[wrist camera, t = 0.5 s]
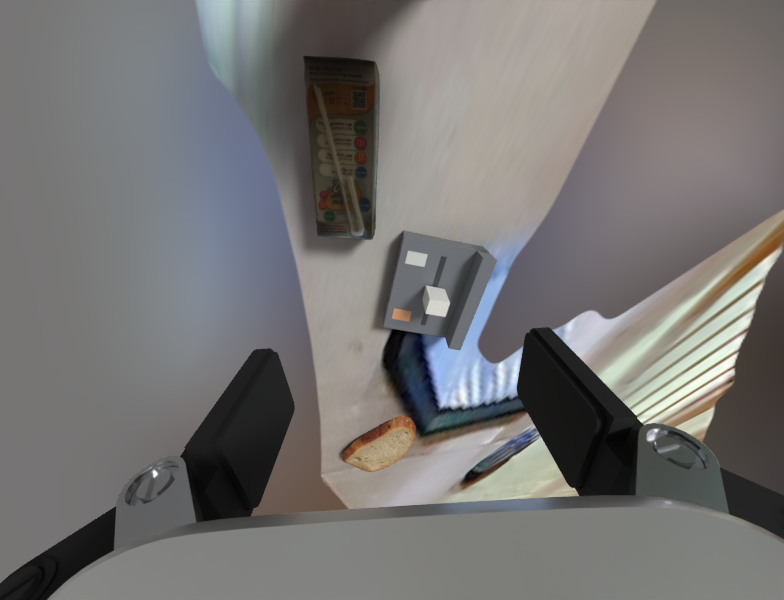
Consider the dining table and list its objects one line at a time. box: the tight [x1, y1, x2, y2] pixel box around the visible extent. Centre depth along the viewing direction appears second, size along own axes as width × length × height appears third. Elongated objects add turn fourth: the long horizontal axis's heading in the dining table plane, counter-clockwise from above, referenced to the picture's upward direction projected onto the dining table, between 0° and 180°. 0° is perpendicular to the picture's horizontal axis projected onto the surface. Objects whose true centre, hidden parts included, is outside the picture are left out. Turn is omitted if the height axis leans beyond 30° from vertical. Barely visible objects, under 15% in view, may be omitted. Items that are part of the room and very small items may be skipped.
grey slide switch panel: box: [383, 231, 497, 350], centre depth 44 cm, size 16×13×6 cm
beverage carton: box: [303, 56, 380, 240], centre depth 35 cm, size 8×19×7 cm, turn 177°
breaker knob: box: [422, 286, 450, 317], centre depth 42 cm, size 2×3×4 cm
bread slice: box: [342, 416, 416, 472], centre depth 65 cm, size 18×18×4 cm
